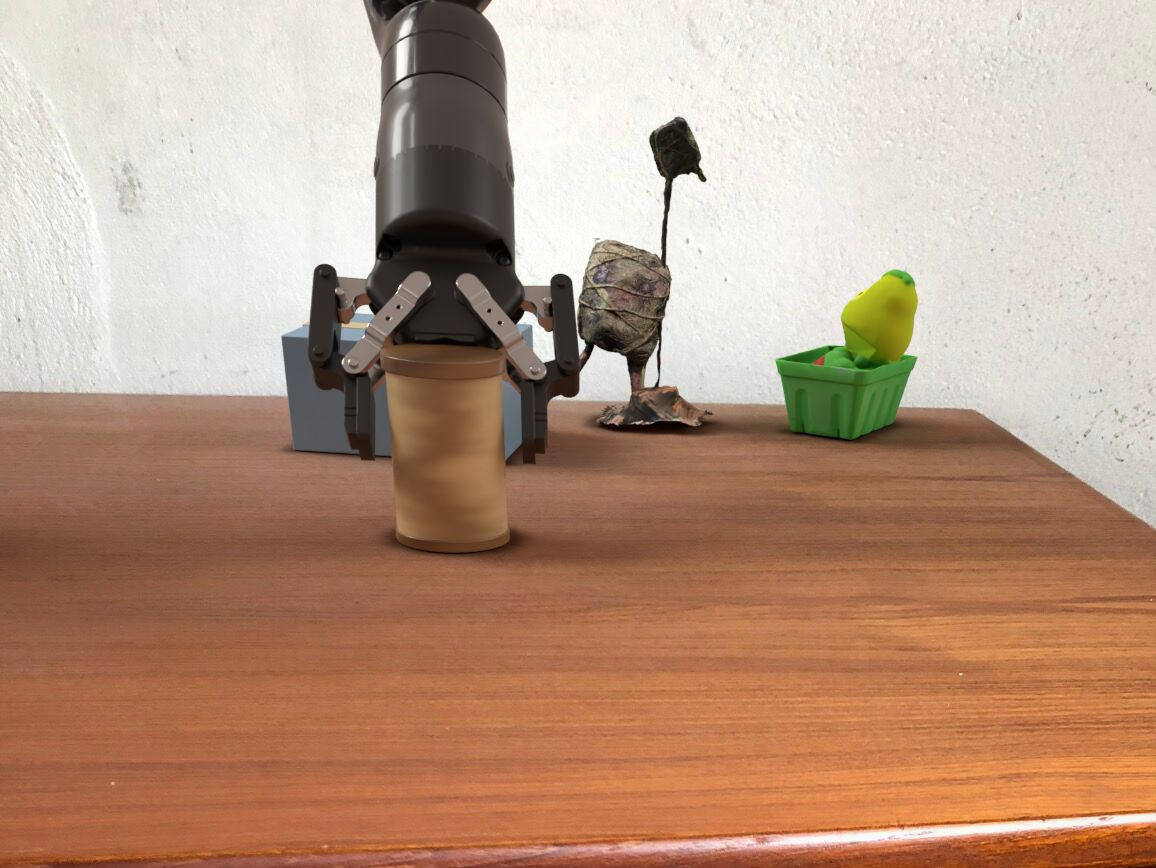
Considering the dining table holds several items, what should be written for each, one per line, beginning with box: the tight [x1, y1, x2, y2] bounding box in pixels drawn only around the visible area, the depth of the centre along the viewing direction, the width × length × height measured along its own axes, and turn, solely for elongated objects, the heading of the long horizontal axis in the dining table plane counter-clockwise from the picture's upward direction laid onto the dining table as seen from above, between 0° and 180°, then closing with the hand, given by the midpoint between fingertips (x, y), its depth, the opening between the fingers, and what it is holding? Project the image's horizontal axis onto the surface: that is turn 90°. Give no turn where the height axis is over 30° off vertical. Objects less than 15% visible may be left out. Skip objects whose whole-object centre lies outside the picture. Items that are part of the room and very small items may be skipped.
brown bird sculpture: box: [576, 115, 715, 427], centre depth 108 cm, size 8×11×20 cm
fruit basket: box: [775, 268, 919, 441], centre depth 113 cm, size 11×9×11 cm
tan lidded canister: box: [380, 343, 511, 554], centre depth 81 cm, size 6×6×10 cm
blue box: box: [280, 312, 534, 462], centre depth 103 cm, size 14×12×7 cm
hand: (447, 454), depth 80 cm, fingers open, 8 cm apart
